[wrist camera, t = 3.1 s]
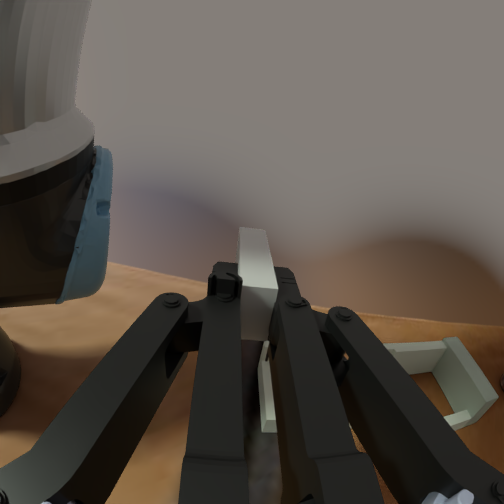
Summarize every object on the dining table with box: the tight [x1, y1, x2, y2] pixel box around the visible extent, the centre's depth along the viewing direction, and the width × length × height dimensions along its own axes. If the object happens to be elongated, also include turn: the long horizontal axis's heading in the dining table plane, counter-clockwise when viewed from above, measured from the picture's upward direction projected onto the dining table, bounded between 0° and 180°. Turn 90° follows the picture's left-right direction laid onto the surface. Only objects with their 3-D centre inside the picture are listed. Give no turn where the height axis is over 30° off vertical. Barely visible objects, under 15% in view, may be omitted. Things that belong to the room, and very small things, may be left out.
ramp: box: [258, 337, 499, 432], centre depth 26 cm, size 28×12×5 cm, turn 92°
